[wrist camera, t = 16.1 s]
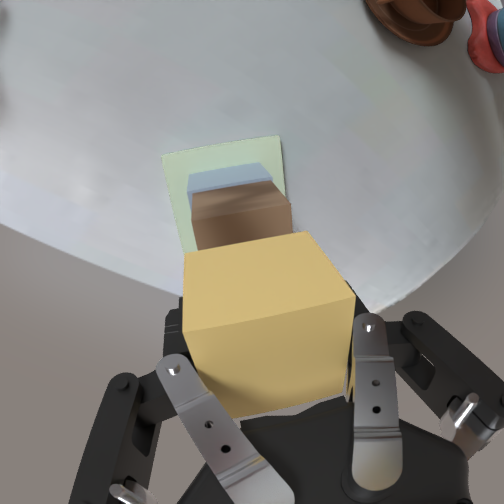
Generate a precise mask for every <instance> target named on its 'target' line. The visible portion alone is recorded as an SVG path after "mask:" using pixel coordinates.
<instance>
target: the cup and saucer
mask: <svg viewBox="0 0 504 504" xmlns="http://www.w3.org/2000/svg"><path fill="white" fill-rule="evenodd" d="M365 1H366V2H367V4H368V6H369V7H370V9H371V10H372V12H373V13H374V15H375V16H376V17H377V18H378V19H379V21H380V22H381V23H382V24H383V25H384V26H385V27H386V28H387V29H389V30H390V31H391V32H392V33H394V34H395V35H396V36H398V37H400V38H401V39H403V40H405V41H407V42H409V43H412V44H416V45H420V46H435V45H438V44H440V43H442V42H443V41H445V40H446V39H447V38H448V36H449V35H450V33H451V31H452V28H453V23H454V21H458V20H460V19H461V18H462V17H463V16H464V14H465V11H466V0H365Z"/></svg>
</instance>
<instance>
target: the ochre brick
mask: <svg viewBox="0 0 504 504" xmlns="http://www.w3.org/2000/svg"><path fill="white" fill-rule="evenodd" d="M355 300H356V295H355V294H354V293H353V291H352V290H351V289H350V287H349V286H348V284H347V283H346V282H345V280H344V279H343V278H342V276H341V275H340V274H339V272H338V271H337V269H336V268H335V267H334V265H333V264H332V263H331V261H330V260H329V259H328V257H327V256H326V255H325V253H324V252H323V251H322V250H321V248H320V247H319V246H318V244H317V243H316V242H315V240H314V239H313V238H312V236H311V235H310V234H309V233H308V231H303V232H297V233H292V234H286V235H281V236H275V237H270V238H264V239H259V240H253V241H248V242H242V243H237V244H232V245H226V246H221V247H216V248H210V249H205V250H200V251H194V252H189V253H185V257H184V281H183V327H182V333H183V335H184V338H185V341H186V343H187V346H188V349H189V351H190V354H191V357H192V359H193V362H194V364H195V367H196V370H197V372H198V375H199V377H200V378H201V380H202V381H203V383H204V384H205V386H206V387H207V389H208V390H209V391H210V390H211V391H212V392H213V394H214V395H215V396H216V398H217V399H218V400H219V402H220V403H221V405H222V406H223V407H224V409H225V410H226V412H227V413H228V414H229V416H230V417H231V418H232V419H233V418H238V417H244V416H249V415H254V414H259V413H265V412H269V411H274V410H278V409H282V408H287V407H291V406H295V405H299V404H303V403H307V402H310V401H314V400H318V399H321V398H325V397H328V396H332V395H335V394H338V393H341V392H342V390H343V385H344V379H345V372H346V367H347V361H348V354H349V348H350V341H351V333H352V326H353V318H354V309H355Z"/></svg>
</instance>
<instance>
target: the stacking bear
mask: <svg viewBox="0 0 504 504" xmlns="http://www.w3.org/2000/svg"><path fill="white" fill-rule="evenodd" d="M466 5H467V8H468V11H469V13H470V16H471V19H472V34H471V36H470V38H469V40H468V53H469V55H470V57H471V59H472V61H473V62H474V64H475V65H476V66H478V67H479V68H481V69H483V70H485V71H487V72H490V73H504V8H502V9H499V10H498V9H497V8H496V7H495V6H493V5H492V4H491V3H490V2H489V1H488V0H467V1H466Z"/></svg>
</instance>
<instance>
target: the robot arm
mask: <svg viewBox="0 0 504 504" xmlns="http://www.w3.org/2000/svg"><path fill="white" fill-rule="evenodd" d="M345 282H346V283H347V284H348V286H349V287H350V289H351V290H352V287H351V286H350V285H349V283H348V282H347V281H345ZM352 291H353V293H354V294H355V295H356V293H355V292H354V290H352ZM182 327H183V297H179V308H178V309H172V310H170V311H169V313H168V315H167V316H166V319H165V334H164V348H163V358H162V359H161V360H160V361H159V362H158V364H157V366H156V370H154V371H153V372H151V373H149V374H147V375H144V376H142V377H139V378H137V377H136V376H135V375H134V374H132V373H121V374H118V375H116V376H115V377H114V378H112V379H111V381H110V382H109V384H108V387H107V389H106V391H105V394H104V397H103V399H102V402H101V405H100V407H99V410H98V413H97V416H96V418H95V421H94V424H93V427H92V430H91V432H90V436H89V439H88V441H87V444H86V447H85V451H84V453H83V456H82V460H81V463H80V466H79V469H78V472H77V476H76V479H75V482H74V486H73V489H72V493H71V496H70V500H69V504H158V502H157V499H156V497H155V496H154V495H153V494H152V493H151V492H149V491H148V485H149V480H150V475H151V471H152V466H153V461H154V456H155V451H156V447H157V442H158V437H159V433H160V428H161V424H162V421H164V420H167V419H169V418H172V417H174V416H176V415H178V416H179V418H180V419H181V421H182V423H183V425H184V426H185V428H186V430H187V431H188V433H189V435H190V436H191V438H192V440H193V441H194V443H195V445H196V446H197V448H198V450H199V451H200V453H201V454H202V456H203V458H204V459H205V460H206V463H205V464H204V466H203V467H202V468H201V470H200V472H199V473H198V474H197V476H196V477H195V479H194V480H193V482H192V483H191V484H190V486H189V487H188V489H187V490H186V491H185V493H184V494H183V496H182V497H181V498H180V500H179V501H178V502H177V504H473V502H472V500H471V498H470V493H469V487H468V472H469V469H468V468H469V467H468V460H469V459H470V458H471V457H472V456H473V455H474V454H475V453H476V452H477V451H480V450H482V449H483V448H484V447H485V446H487V444H488V443H490V442H491V440H493V438H495V437H496V435H497V434H498V433H499V432H500V431H501V430H502V429H503V428H504V382H503V381H502V380H501V379H500V378H499V377H498V376H497V375H496V374H495V373H494V372H493V371H492V370H491V369H490V368H488V367H487V366H486V365H485V364H484V363H483V362H482V361H481V360H480V359H478V358H477V357H476V356H475V355H474V354H473V353H472V352H471V351H469V350H468V349H467V348H466V347H465V346H464V345H462V344H461V343H460V342H459V341H458V340H457V339H456V338H454V337H453V336H452V335H451V334H450V333H449V332H447V331H446V330H445V329H444V328H443V327H442V326H440V325H439V324H438V323H437V322H435V321H434V320H433V319H432V318H431V317H429V316H428V315H427V314H425V313H423V312H420V311H411V312H408V313H406V314H405V315H404V317H403V321H396V322H395V321H394V322H386V321H384V320H383V319H382V318H381V317H380V316H379V315H377V314H374V313H370V312H369V311H368V310H367V308H366V307H365V305H364V304H363V303H362V301H361V300H360V298H359V297H358V296H357V295H356V300H355V309H354V318H353V326H352V333H351V341H350V348H349V354H348V362H347V384H346V399H345V397H344V396H340V397H337V398H334V399H331V400H327V401H324V402H321V403H318V404H316V405H314V406H313V407H311V408H309V409H307V410H305V411H303V412H301V413H299V414H297V415H293V416H263V417H258V418H254V419H248V420H243V421H240V423H241V428H240V429H239V428H238V426H237V425H236V424H235V422H234V421H233V420H232V418H231V417H230V416H229V414H228V413H227V412H226V410H225V409H224V407H223V406H222V405H221V403H220V402H219V400H218V399H217V398H216V396H215V395H214V394H213V392H212V391H211V390H210V391H209V390H208V389H207V387H206V386H205V384H204V383H203V381H202V380H201V378H200V377H199V375H198V372H197V370H196V367H195V364H194V362H193V359H192V357H191V354H190V351H189V349H188V346H187V343H186V341H185V338H184V335H183V333H182ZM422 354H423V355H424V356H425V357H426V358H427V359H428V360H429V361H430V362H431V363H432V364H433V365H434V366H433V365H432V364H431V363H430V362H429V361H428V360H427V359H426V358H425V357H424V356H423V355H422ZM395 371H396V372H397V373H398V374H399V375H400V376H401V377H402V378H403V380H404V381H405V382H406V383H407V384H408V385H409V386H410V387H411V388H412V389H413V390H414V391H415V393H416V394H417V395H418V396H419V397H420V398H421V399H422V400H423V401H424V402H425V403H426V404H427V406H428V407H429V408H430V409H431V410H432V411H433V412H434V413H435V414H436V415H437V416H438V418H439V419H440V429H441V435H442V437H443V438H442V437H439V436H437V435H435V434H432V433H430V432H428V431H425V430H423V429H421V428H419V427H416V426H414V425H412V424H410V423H408V422H406V421H403V420H401V419H399V417H398V401H397V388H396V377H395ZM444 438H445V439H444Z"/></svg>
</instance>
